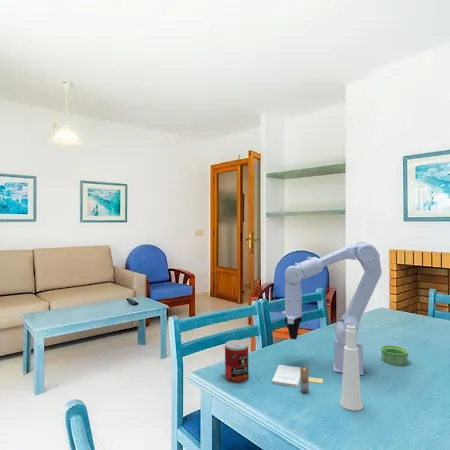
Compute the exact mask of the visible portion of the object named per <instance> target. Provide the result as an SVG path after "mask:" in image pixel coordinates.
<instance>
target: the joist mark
mask: <svg viewBox="0 0 450 450" xmlns="http://www.w3.org/2000/svg"><path fill="white" fill-rule="evenodd" d="M309 383H315V384H322V385H323V384H324V378H320V377H319V378H318V377H311V376H309Z"/></svg>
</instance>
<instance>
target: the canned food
mask: <svg viewBox="0 0 450 450" xmlns="http://www.w3.org/2000/svg"><path fill="white" fill-rule="evenodd" d="M224 367H225V368H224V370H225V371H224V372H225V374H224V375H225V378H226V380H227V379H228V380H227V381H229V382H231V381H232V382H231V383H243V382H246V381H247V380H248V378H249V343H248V342H247V341H244V340H241V339H232V340H228V341H226V342H225V344H224Z"/></svg>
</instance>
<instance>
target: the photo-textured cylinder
mask: <svg viewBox="0 0 450 450" xmlns="http://www.w3.org/2000/svg"><path fill="white" fill-rule="evenodd" d="M309 372H310V371H309V367H308V366H300V381H299V384H300V393H302V394H308V393H309V391H310V386H309V385H310V382H309V377H310V374H309Z"/></svg>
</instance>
